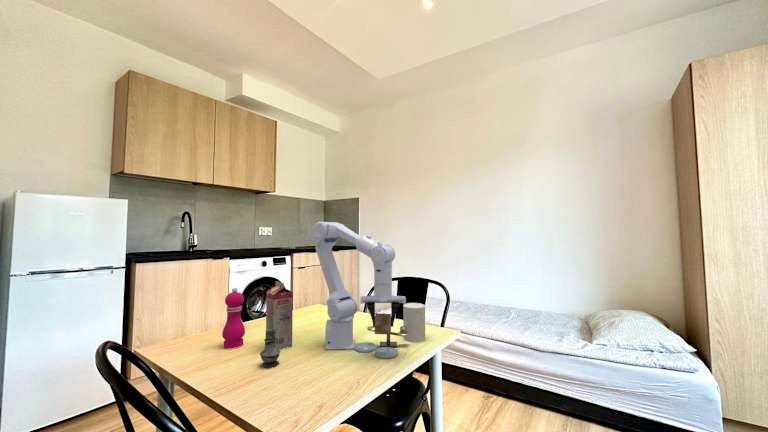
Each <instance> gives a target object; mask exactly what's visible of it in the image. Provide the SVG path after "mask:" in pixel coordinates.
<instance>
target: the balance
mask: <svg viewBox="0 0 768 432" xmlns="http://www.w3.org/2000/svg"><path fill="white" fill-rule="evenodd" d="M399 330H400V331H398V332H393V331H391V334H386V341H379V348H381V347H391V348H395V349H398V342H397V341H391V335H393V336H397V337H403V338H404V336H409V332H407V327H406V326H403V325H402V326H400V327H399ZM367 331H369V332H373V333H375V327H373V325H371V326H368V327H367Z"/></svg>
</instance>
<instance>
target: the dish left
mask: <svg viewBox="0 0 768 432" xmlns="http://www.w3.org/2000/svg"><path fill="white" fill-rule="evenodd" d="M376 349H377V344H376V343H374V342H370V341H363V342H357V343H354V347H353V350H354V351H355V352H358V353H363V354H366V353H372V352H375V350H376Z"/></svg>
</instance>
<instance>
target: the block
mask: <svg viewBox="0 0 768 432" xmlns="http://www.w3.org/2000/svg"><path fill="white" fill-rule="evenodd" d="M391 332H392V327H391V313H375V332H374V335H387V334H390V335H391Z"/></svg>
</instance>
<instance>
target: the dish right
mask: <svg viewBox="0 0 768 432" xmlns="http://www.w3.org/2000/svg"><path fill="white" fill-rule="evenodd" d="M398 354H399V351H398V348H391V347H381V348H380V347H379V348H376V350H375V351H374V356H375V357H376V358H379V359H393V358H396V357H397V356H398Z"/></svg>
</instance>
